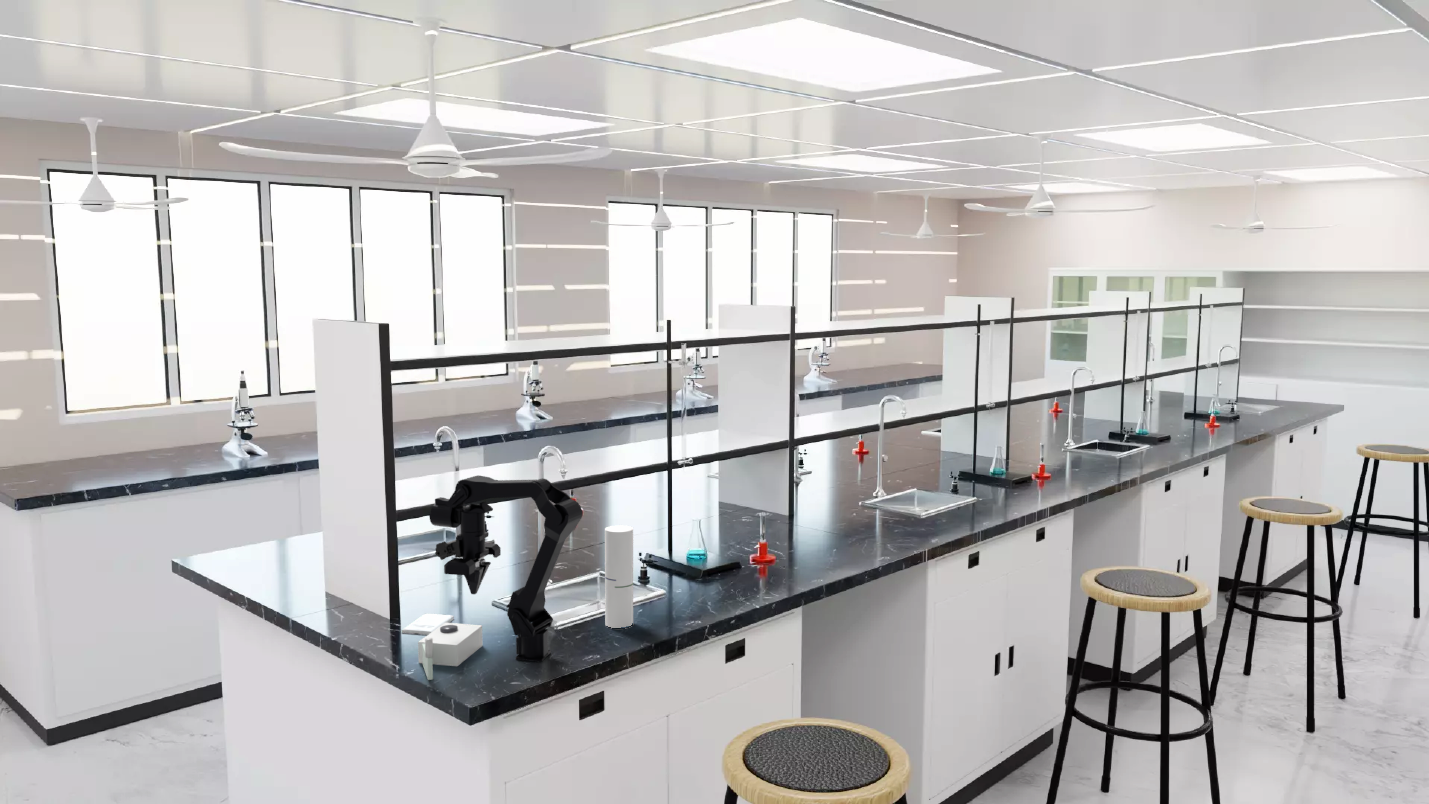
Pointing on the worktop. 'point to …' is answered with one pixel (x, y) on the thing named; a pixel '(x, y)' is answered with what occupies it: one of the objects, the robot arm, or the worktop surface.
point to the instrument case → (453, 643)
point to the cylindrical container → (618, 576)
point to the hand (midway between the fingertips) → (474, 593)
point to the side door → (428, 657)
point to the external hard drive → (427, 624)
